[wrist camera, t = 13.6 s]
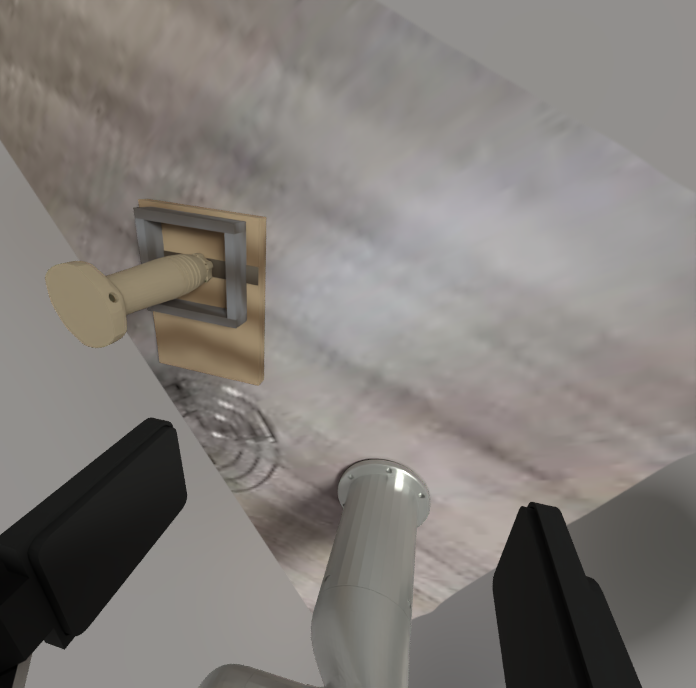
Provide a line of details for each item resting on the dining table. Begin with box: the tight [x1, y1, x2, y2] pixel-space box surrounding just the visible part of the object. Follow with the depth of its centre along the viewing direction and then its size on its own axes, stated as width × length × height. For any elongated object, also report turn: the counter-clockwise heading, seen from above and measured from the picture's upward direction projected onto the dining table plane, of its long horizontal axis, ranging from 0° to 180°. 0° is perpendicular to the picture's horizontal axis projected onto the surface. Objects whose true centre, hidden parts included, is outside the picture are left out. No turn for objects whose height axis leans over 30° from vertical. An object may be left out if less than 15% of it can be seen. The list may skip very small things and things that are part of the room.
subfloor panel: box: [133, 199, 266, 386], centre depth 40 cm, size 20×14×4 cm
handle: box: [45, 253, 213, 348], centre depth 32 cm, size 5×6×15 cm
